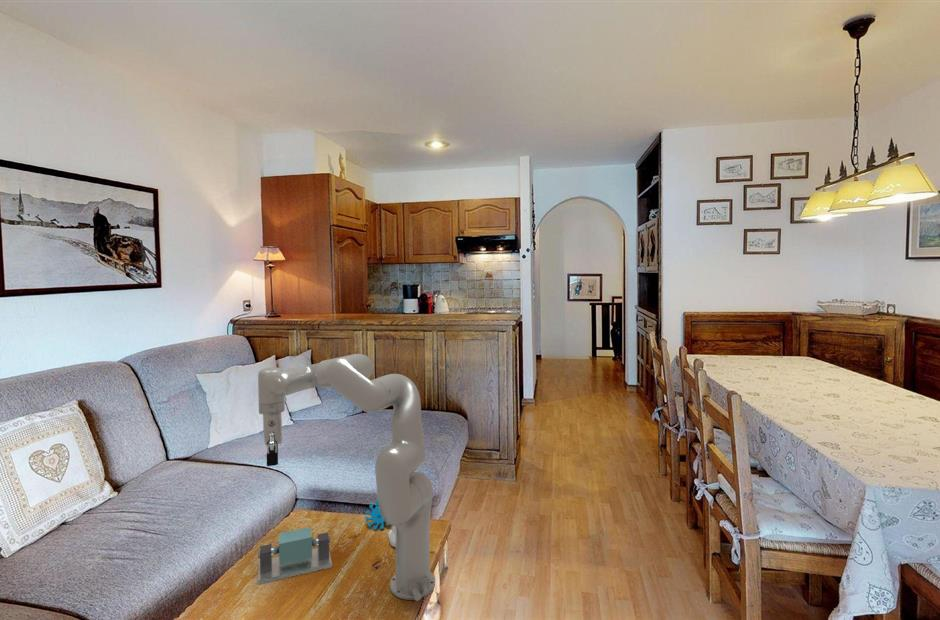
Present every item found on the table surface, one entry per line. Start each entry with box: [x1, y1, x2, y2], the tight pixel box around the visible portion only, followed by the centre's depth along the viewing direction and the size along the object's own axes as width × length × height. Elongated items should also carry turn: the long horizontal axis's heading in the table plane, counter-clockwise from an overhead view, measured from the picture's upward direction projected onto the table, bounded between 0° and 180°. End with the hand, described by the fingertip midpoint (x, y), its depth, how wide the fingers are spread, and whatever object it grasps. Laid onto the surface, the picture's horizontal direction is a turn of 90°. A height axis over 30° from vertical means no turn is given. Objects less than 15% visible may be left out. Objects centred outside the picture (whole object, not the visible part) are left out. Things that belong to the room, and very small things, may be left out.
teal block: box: [278, 526, 313, 565], centre depth 133 cm, size 6×9×6 cm, turn 114°
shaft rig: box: [257, 531, 333, 585], centre depth 133 cm, size 10×20×7 cm, turn 114°
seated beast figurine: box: [387, 525, 396, 548], centre depth 146 cm, size 10×9×12 cm
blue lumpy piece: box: [365, 500, 391, 531], centre depth 158 cm, size 11×6×10 cm
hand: (272, 459), depth 142 cm, fingers open, 9 cm apart
